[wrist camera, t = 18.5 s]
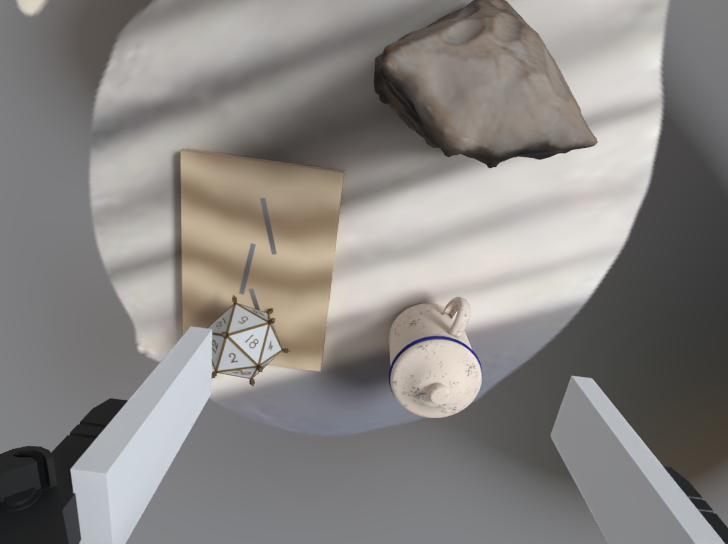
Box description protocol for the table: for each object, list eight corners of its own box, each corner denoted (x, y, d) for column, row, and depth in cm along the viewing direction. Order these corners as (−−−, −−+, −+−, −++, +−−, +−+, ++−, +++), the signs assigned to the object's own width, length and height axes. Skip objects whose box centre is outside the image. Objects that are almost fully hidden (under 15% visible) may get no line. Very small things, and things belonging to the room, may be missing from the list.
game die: (278, 308, 53) (318, 360, 46) (224, 358, 52) (256, 418, 45) (231, 266, 46) (268, 319, 39) (168, 322, 45) (195, 386, 38)
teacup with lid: (442, 380, 53) (460, 450, 42) (373, 352, 52) (373, 417, 41) (492, 297, 49) (526, 351, 38) (419, 265, 48) (432, 311, 37)
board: (186, 148, 44) (180, 149, 43) (344, 170, 45) (343, 172, 43) (187, 347, 52) (182, 354, 51) (321, 364, 53) (320, 371, 51)
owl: (528, 132, 43) (648, 151, 24) (407, 182, 45) (431, 234, 26) (491, -6, 39) (598, -111, 20) (359, 55, 41) (347, 10, 22)
